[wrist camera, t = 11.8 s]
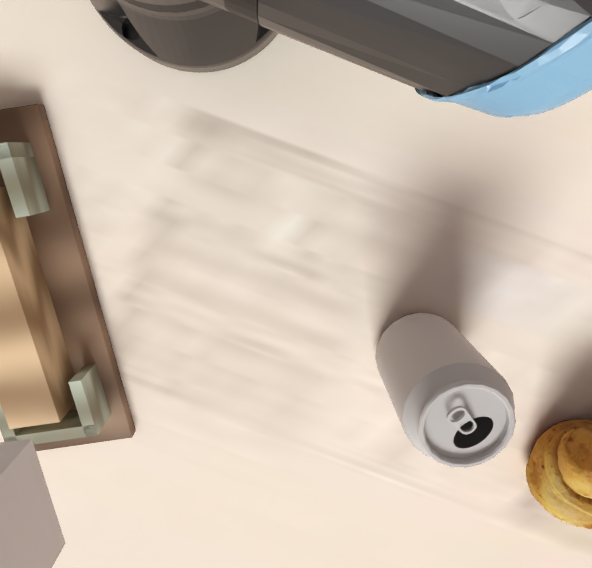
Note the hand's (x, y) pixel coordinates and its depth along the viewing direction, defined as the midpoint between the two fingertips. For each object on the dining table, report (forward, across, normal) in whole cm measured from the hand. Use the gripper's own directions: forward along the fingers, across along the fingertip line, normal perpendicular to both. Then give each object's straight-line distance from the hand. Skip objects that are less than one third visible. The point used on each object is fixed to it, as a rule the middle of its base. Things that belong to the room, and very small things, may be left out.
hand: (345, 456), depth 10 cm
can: (+29, +9, -12) cm, 32 cm away
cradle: (+29, -22, -2) cm, 36 cm away
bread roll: (+29, +24, -25) cm, 45 cm away
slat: (+28, -23, -3) cm, 36 cm away
